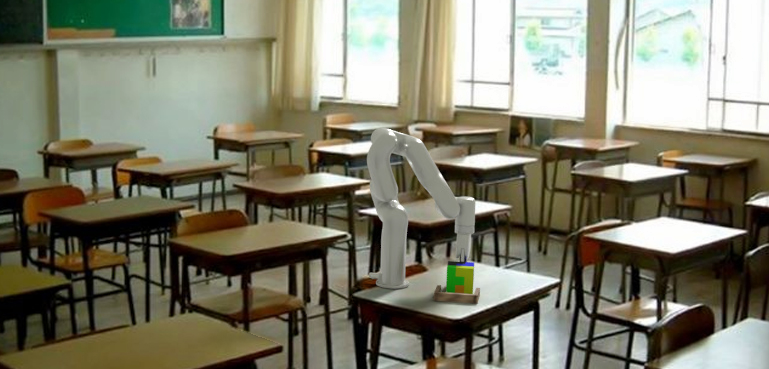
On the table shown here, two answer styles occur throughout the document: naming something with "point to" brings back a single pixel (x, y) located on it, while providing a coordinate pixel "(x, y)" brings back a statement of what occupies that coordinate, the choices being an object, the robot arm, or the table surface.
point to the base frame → (456, 296)
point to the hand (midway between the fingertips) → (462, 274)
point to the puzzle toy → (460, 277)
